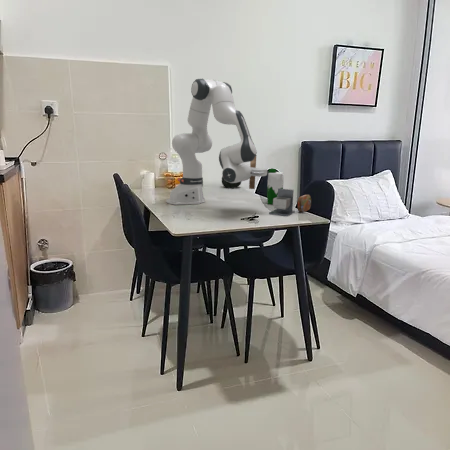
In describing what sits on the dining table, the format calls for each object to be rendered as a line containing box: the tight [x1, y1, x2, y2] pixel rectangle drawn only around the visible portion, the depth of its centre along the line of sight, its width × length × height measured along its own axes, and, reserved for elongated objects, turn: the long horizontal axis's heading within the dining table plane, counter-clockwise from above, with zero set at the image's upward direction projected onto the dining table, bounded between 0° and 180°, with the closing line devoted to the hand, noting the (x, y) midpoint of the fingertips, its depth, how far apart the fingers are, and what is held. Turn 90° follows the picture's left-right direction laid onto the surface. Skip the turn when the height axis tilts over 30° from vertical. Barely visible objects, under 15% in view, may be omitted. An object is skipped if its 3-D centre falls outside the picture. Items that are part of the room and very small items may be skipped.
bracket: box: [268, 188, 296, 217], centre depth 209 cm, size 12×10×12 cm
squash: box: [221, 176, 242, 189], centre depth 296 cm, size 14×15×15 cm
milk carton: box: [266, 168, 284, 205], centre depth 235 cm, size 9×9×20 cm
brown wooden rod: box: [248, 154, 257, 190], centre depth 217 cm, size 3×3×18 cm
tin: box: [296, 194, 312, 213], centre depth 217 cm, size 15×3×8 cm, turn 148°
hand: (253, 169), depth 218 cm, fingers closed on brown wooden rod, 3 cm apart
